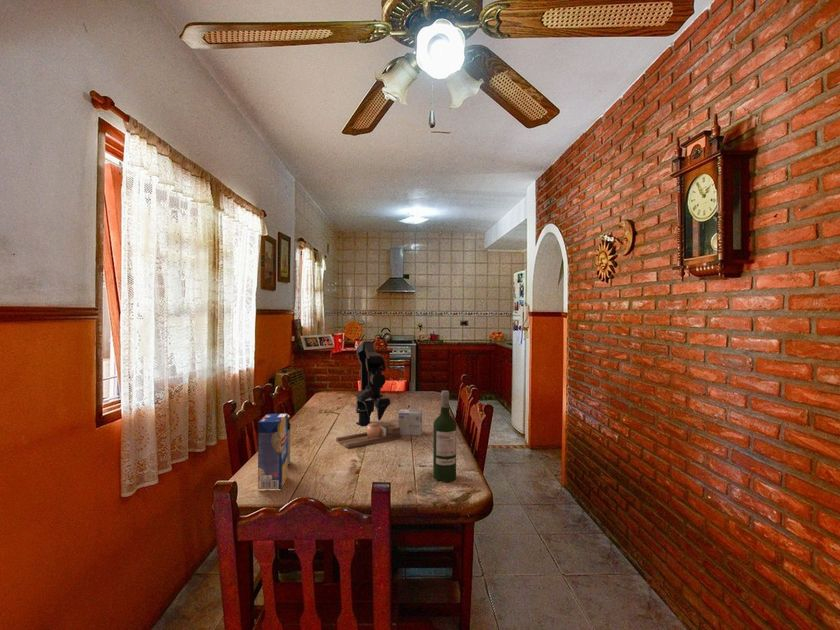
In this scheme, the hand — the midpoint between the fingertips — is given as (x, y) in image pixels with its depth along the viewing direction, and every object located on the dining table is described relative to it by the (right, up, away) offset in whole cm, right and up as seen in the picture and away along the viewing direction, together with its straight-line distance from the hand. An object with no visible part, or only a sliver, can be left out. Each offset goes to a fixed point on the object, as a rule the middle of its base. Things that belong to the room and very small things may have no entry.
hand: (374, 417), depth 190 cm
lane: (-2, -10, -1) cm, 10 cm away
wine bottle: (+29, -10, -44) cm, 54 cm away
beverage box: (-28, -10, -50) cm, 58 cm away
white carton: (+16, -10, +9) cm, 21 cm away
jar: (0, -9, 0) cm, 9 cm away
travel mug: (-32, -10, -32) cm, 46 cm away
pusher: (+3, -10, +2) cm, 10 cm away
